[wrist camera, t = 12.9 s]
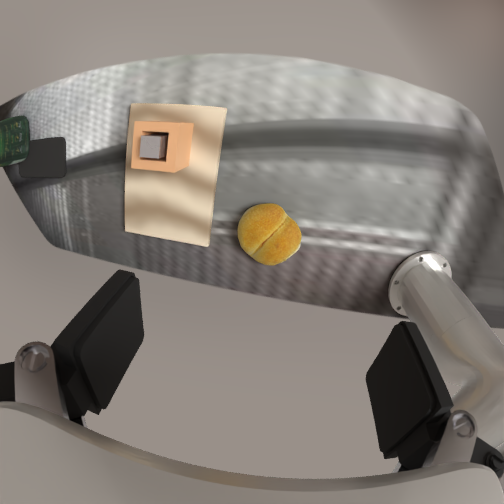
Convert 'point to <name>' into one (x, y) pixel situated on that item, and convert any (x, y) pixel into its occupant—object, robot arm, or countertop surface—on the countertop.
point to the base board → (176, 178)
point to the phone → (45, 159)
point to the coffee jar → (14, 140)
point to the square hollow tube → (175, 151)
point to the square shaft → (154, 145)
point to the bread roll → (268, 234)
